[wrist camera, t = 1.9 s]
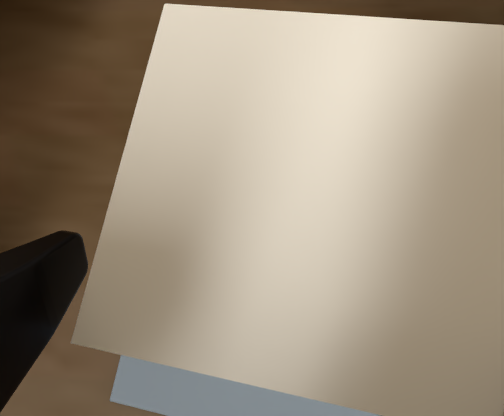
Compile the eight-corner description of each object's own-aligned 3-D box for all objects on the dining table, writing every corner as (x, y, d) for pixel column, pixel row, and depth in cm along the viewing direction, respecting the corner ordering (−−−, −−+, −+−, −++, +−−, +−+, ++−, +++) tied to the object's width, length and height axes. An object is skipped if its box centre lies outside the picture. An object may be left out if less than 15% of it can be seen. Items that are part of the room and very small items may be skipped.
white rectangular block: (395, 374, 16) (501, 443, 7) (205, 333, 18) (70, 342, 8) (416, 185, 18) (525, 26, 8) (241, 162, 19) (164, 3, 10)
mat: (479, 492, 15) (483, 496, 15) (114, 399, 18) (109, 400, 18) (504, 125, 18) (507, 121, 18) (190, 92, 21) (187, 88, 21)
